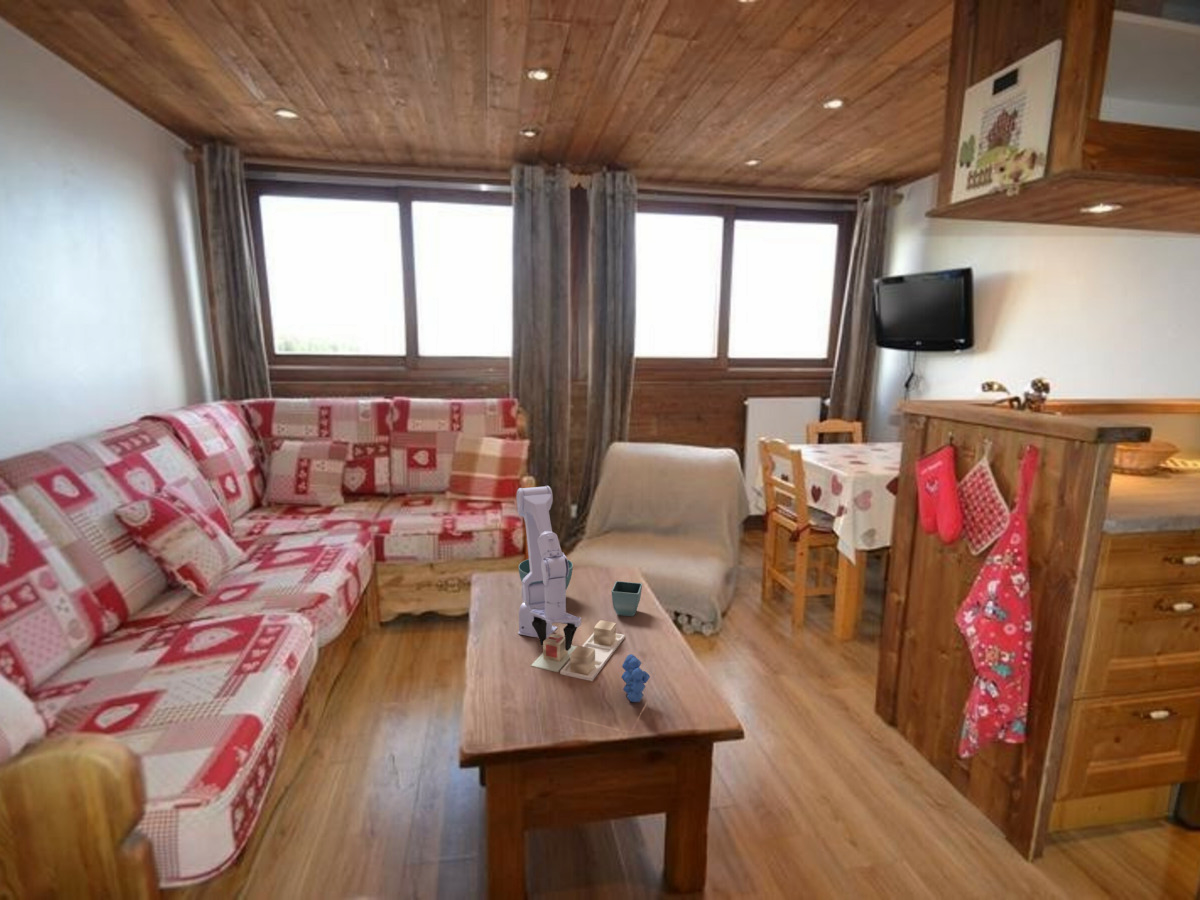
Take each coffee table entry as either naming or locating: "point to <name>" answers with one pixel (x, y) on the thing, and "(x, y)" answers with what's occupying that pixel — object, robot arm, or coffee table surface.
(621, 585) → the flower pot
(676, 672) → the coffee table surface
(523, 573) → the teal round bowl
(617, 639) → the sorting tray
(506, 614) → the coffee table surface
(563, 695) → the coffee table surface
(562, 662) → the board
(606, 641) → the plain cube far
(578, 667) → the plain cube near
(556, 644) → the lettered cube
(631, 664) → the grapes
